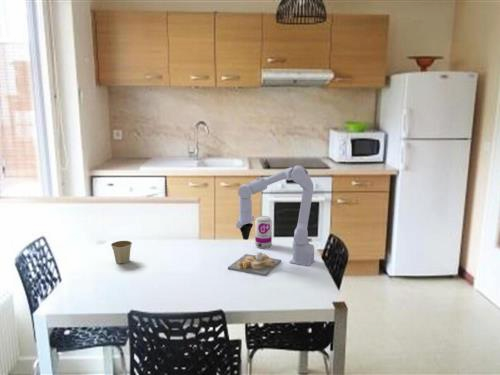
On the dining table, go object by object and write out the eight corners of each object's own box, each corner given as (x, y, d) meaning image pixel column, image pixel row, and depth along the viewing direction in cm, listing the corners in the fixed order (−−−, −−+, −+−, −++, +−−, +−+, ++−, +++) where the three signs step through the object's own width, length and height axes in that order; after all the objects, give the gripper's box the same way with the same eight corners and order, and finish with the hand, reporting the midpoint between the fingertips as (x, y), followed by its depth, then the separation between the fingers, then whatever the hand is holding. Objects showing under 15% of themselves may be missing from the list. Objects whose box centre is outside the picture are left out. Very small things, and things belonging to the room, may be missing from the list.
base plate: (281, 261, 198) (281, 249, 197) (265, 276, 182) (265, 262, 181) (245, 255, 206) (245, 243, 205) (227, 269, 190) (227, 256, 189)
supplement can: (271, 249, 215) (271, 220, 212) (255, 249, 215) (255, 220, 212) (271, 243, 223) (271, 215, 220) (255, 243, 223) (255, 215, 220)
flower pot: (136, 258, 205) (135, 240, 203) (128, 265, 196) (127, 247, 194) (117, 257, 206) (115, 240, 204) (108, 265, 196) (107, 246, 195)
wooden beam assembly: (264, 258, 200) (264, 253, 199) (274, 265, 191) (274, 260, 190) (234, 263, 194) (234, 258, 193) (242, 271, 185) (242, 266, 184)
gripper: (244, 206, 205) (245, 233, 208) (230, 213, 192) (230, 242, 195) (258, 207, 202) (258, 235, 205) (244, 215, 189) (244, 244, 192)
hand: (245, 239), depth 200 cm, fingers closed
